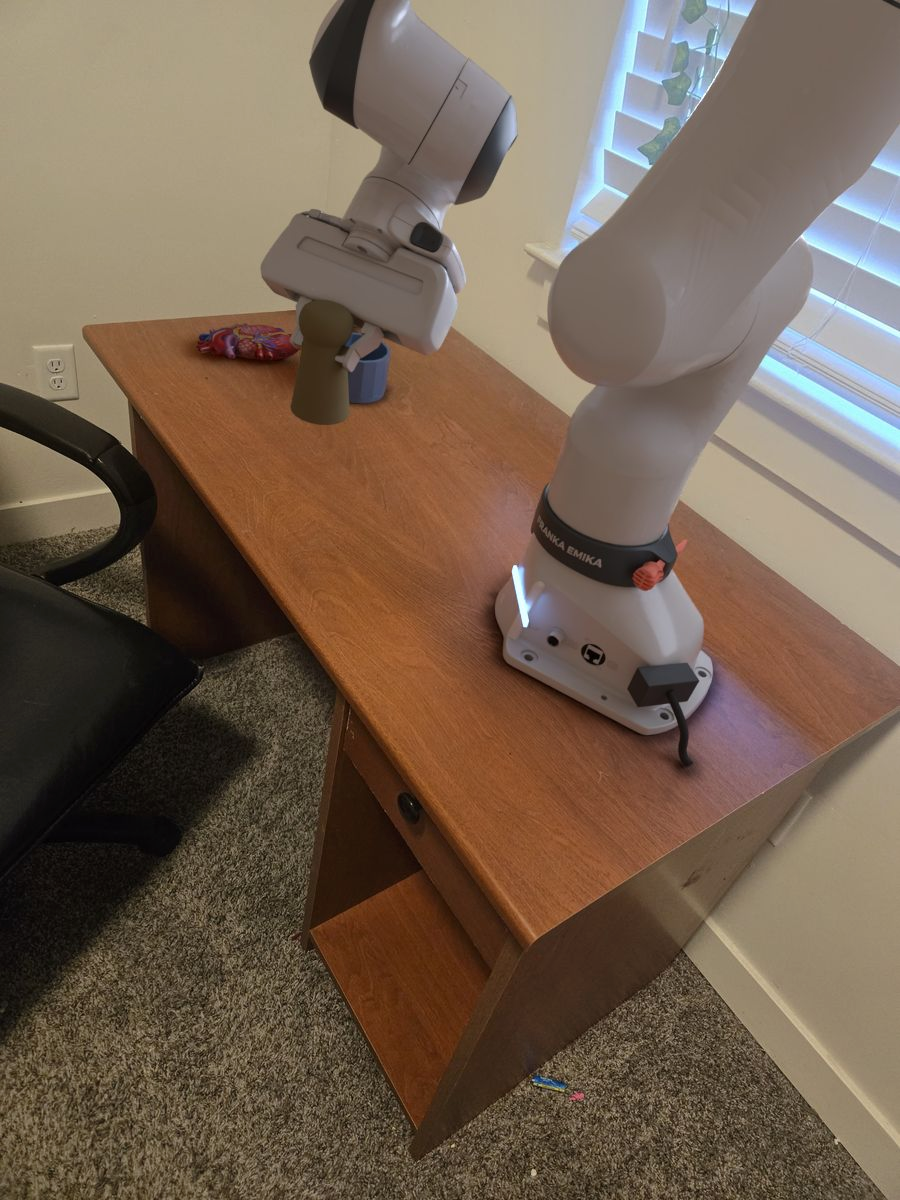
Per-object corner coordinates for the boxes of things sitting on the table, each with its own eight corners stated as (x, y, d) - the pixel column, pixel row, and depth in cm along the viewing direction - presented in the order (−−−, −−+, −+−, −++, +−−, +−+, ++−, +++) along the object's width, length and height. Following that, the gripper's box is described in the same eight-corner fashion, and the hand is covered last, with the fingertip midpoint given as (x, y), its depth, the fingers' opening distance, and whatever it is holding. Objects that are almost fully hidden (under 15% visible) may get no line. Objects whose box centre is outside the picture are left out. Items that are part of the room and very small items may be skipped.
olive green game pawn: (339, 430, 78) (348, 324, 71) (281, 415, 79) (285, 308, 71) (356, 404, 83) (367, 302, 76) (302, 390, 83) (307, 287, 76)
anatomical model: (315, 335, 108) (212, 361, 102) (316, 360, 111) (216, 386, 104) (279, 301, 114) (179, 322, 108) (281, 325, 117) (184, 347, 110)
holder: (397, 393, 109) (403, 353, 106) (352, 409, 104) (357, 367, 100) (354, 367, 113) (358, 327, 109) (308, 381, 107) (310, 340, 103)
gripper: (288, 183, 77) (221, 305, 76) (468, 248, 71) (397, 380, 71) (313, 223, 83) (251, 336, 82) (480, 286, 77) (415, 408, 77)
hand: (320, 357), depth 76 cm, fingers closed on olive green game pawn, 4 cm apart
